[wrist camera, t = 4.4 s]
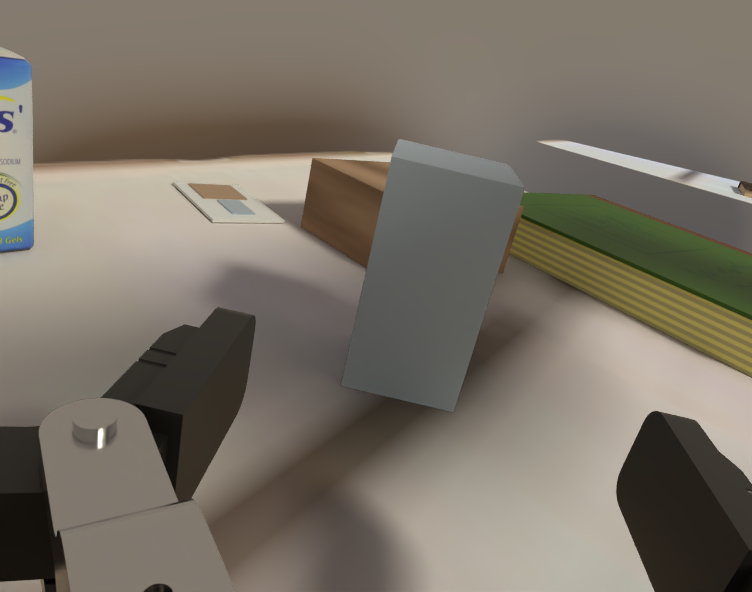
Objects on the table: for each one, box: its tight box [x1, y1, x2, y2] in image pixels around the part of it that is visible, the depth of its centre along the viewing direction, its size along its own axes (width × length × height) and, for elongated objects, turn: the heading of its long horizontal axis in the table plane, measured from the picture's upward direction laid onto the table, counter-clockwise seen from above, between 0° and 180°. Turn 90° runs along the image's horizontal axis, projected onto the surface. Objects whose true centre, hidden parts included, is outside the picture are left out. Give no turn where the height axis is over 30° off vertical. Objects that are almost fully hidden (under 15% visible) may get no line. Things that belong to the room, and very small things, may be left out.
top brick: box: [341, 139, 525, 412], centre depth 23 cm, size 4×4×9 cm
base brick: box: [301, 158, 524, 274], centre depth 39 cm, size 10×10×5 cm
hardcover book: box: [509, 192, 752, 377], centre depth 46 cm, size 25×19×4 cm
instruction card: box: [173, 181, 285, 223], centre depth 41 cm, size 5×8×1 cm, turn 35°
